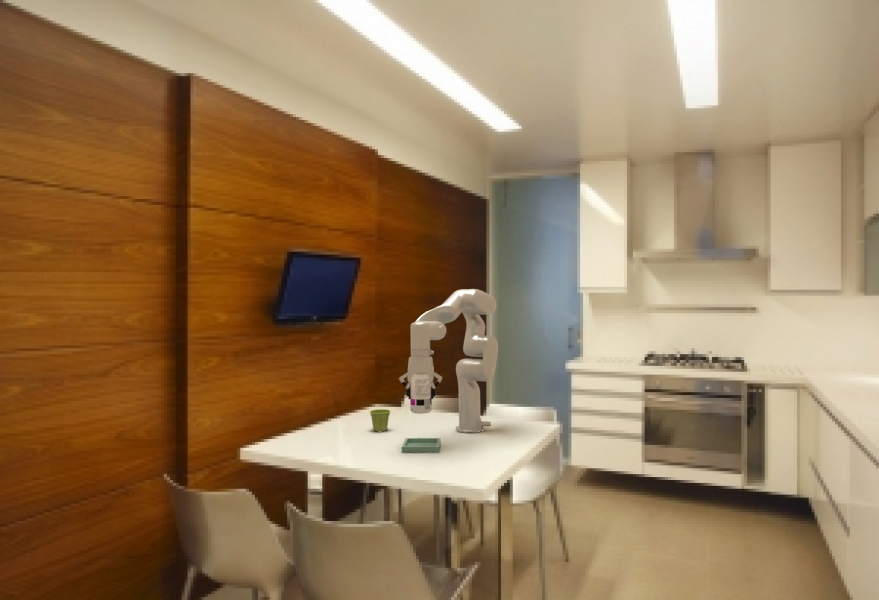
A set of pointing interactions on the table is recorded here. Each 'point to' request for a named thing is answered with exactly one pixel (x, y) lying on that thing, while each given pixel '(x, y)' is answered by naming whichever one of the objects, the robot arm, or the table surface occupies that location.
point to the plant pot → (380, 419)
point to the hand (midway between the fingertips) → (421, 398)
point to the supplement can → (420, 394)
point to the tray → (421, 445)
